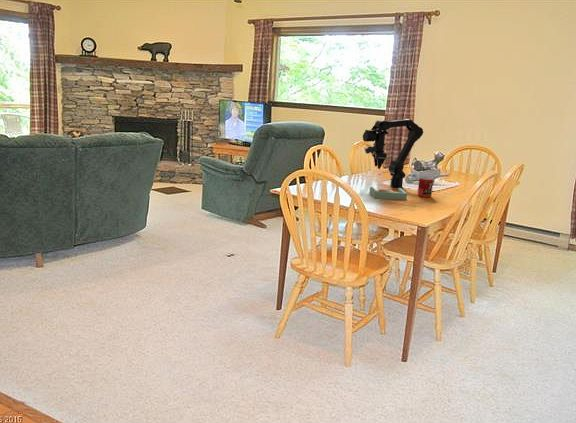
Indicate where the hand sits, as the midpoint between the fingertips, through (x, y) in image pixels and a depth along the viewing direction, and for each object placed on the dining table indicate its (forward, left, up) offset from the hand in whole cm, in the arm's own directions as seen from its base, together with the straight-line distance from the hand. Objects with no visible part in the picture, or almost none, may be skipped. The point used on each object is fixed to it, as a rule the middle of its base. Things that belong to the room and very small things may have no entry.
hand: (377, 167), depth 318 cm
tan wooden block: (-1, +26, -12) cm, 29 cm away
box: (-2, +25, -12) cm, 28 cm away
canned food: (-24, +21, -12) cm, 34 cm away
